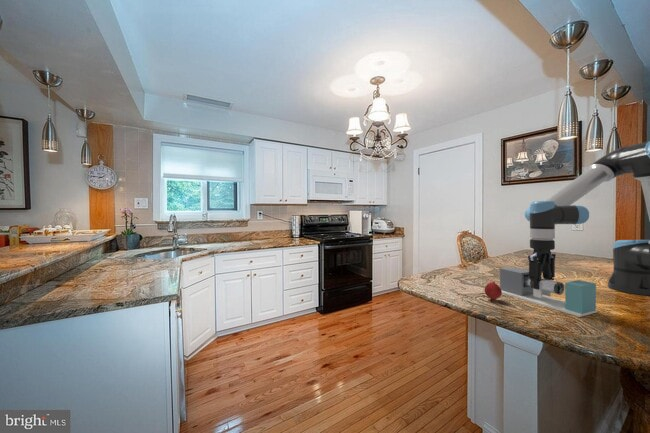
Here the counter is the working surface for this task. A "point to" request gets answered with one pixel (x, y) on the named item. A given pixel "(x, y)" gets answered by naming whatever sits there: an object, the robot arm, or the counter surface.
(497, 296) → the onion
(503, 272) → the sleeve
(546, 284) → the slip tube
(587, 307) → the socket
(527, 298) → the board
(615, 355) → the counter surface
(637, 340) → the counter surface
